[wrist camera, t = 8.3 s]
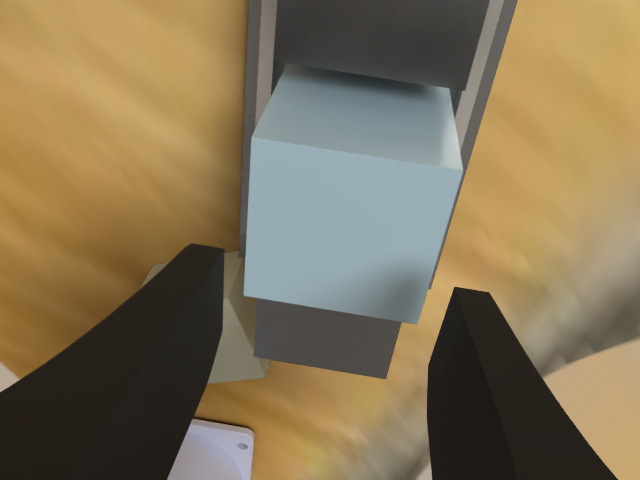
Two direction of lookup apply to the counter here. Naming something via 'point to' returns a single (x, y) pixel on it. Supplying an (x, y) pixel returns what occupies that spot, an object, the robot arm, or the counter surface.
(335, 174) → the block
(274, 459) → the counter surface
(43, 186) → the counter surface
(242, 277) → the block
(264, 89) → the rail base
